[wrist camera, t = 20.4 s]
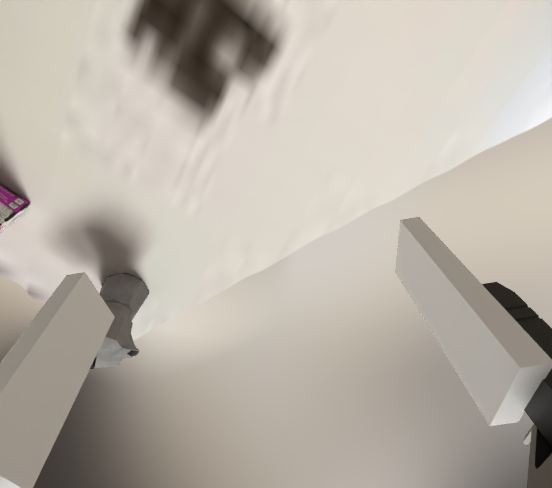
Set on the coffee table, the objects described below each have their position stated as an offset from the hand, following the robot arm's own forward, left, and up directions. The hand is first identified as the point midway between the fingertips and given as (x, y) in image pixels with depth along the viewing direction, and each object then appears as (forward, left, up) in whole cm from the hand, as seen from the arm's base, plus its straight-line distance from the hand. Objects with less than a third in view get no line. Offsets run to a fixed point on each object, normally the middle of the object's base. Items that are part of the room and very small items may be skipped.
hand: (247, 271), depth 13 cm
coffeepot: (-2, -45, -39) cm, 59 cm away
